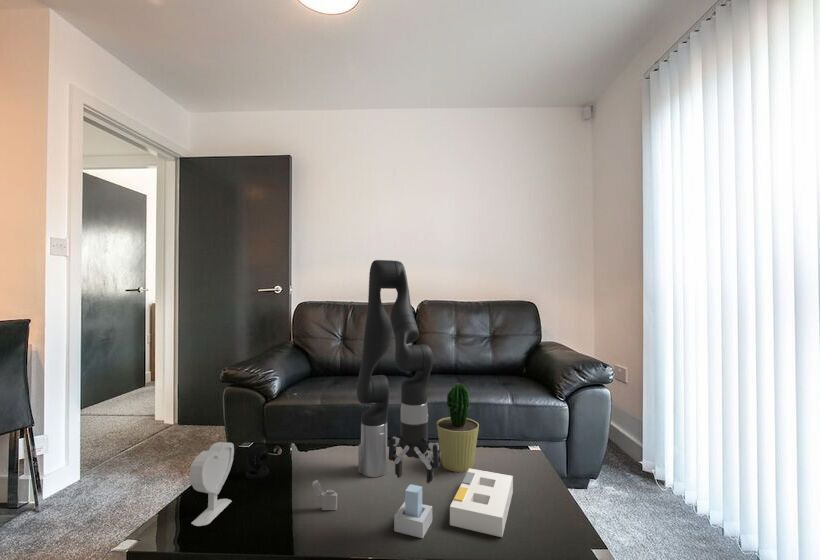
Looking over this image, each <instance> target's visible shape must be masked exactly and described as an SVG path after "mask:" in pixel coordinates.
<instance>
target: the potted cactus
mask: <svg viewBox="0 0 820 560" xmlns="http://www.w3.org/2000/svg"><path fill="white" fill-rule="evenodd" d="M470 397H471V396H470V395H469V391H468V389H467V387H466V386H464V384H463V382H462V383H452V387H451V388H450V390H449V391H448V392H447V395H446V396H445V399H446V402H444V403H446V406H447V407H448V411H447V412H448V413H447V414H449V417H443V418H441V419H439V420H437V421H436V430H437V437H438V442H439V444H440V459H441V464H442V467H443V468H444V469H445V470H448V471H451V472H455V473H463V472H468V470H469V468H470V469H474V468H473V467H474V462H475V455H476V449H477V443H478V436H479V426H480V424H479V422H477V421H475V420H474V419H471V418H469V417H468V413H469V410H470V409H471V408H472V406H471V405H470V404H471V402H470V401H471V400H472V399H470ZM471 410H472V409H471Z"/></svg>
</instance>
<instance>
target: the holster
mask: <svg viewBox="0 0 820 560" xmlns="http://www.w3.org/2000/svg"><path fill="white" fill-rule="evenodd" d="M393 517H394V518H393V522H394V524H393V527H394V528H393V531H394V532H397V533H399V534H403V535H409V536H412V537H415V538H420V539H424V537H425V535H426V534H427V532H428V530H429V529H430V528H429V527H430V525H432V522H433V506H432V505H429V504H423V503H422V515H421V516H420V518H417V517H412V516H408V515H405V501H403V503H402V504H401V506H400V508H398V510H397V511H396V513H395V514H394V516H393Z"/></svg>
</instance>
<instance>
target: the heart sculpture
mask: <svg viewBox="0 0 820 560" xmlns="http://www.w3.org/2000/svg"><path fill="white" fill-rule="evenodd" d="M234 455H235V446H234V443H232V442H221V441H220V442H219V441H218V442H214V443H213V444H211V446H210V447H209V449H208V450H202V451H201V452H200V453H199V454H198V455H197V456H196V457H195V458H194V459H193V461H192V462H191V465H190V470H189V476H190V477H189V478H190V479H189V481H190V484H191V487H192V488H193V490H195V491H197V492H200V493H204V494H208V498H207V501H208V503H207V508H206V509H205V510H204V511H202V513H200V514H199V515H198V516H197V517H196V518H195V519H194V520H193V521H191V525H193V526H196V527H202V526H207V525H209V524H211V522H212V521H213V520H214V519H215V518H217V517H218V516H219V515H220V513H221V512H223V511H224V509H226V508H227V507H228V506H229V504H231V503H232V502H233V501H232V500H231V499H229V498H219V499H218V495H219V494H220V492H221V490H222V489H223V486H224V484H225V482H226V480H227V479H228V476H229V474H230V472H231V468H232V465H233V461H234Z"/></svg>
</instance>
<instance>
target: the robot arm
mask: <svg viewBox="0 0 820 560" xmlns="http://www.w3.org/2000/svg"><path fill="white" fill-rule="evenodd" d="M382 289H383V290H385V289H392V290H393V289H395V290H396V293H397V296H396V299H395V301H394V304H393V306H392V308H391V311H390V316H389V315H388V313H387V310H386V309H385V307H384V304H383V302H382V298H381V297H382V296H381V293H382V292H381V291H382ZM409 289H410V288H409V284H408V277H407V273H406V269H405V266H404V263H402V262H401V261H399V260H389V259H388V260H387V259H386V260H385V259H374V260H373V261H372V262H371V264H370V268H369V274H368V299H367V300H368V301H367V310H366V319H365V326H364V332H363V347H362V354H361V362H360V368H359V372H358V378H357V384H356V397H357V401H358V402H359V403H360V404H362V405H368V404H374V405H372V406H371V407H370V408H369V409H367V410H365V411H363V412H362V413H361V415H360V443H359V444H358V452H357V453H358V456H357V458H358V463H357V464H358V469H357V470H358V471H357V472H358V473H360V474H361V473H362V474H363V475H362V474H361V475H362V476H364V475H365V477H367V476H368V477H367V478H377V477H382V476H384V475H386V474H387V471H388V460H389V461H390V462H391V461H392V462H394V468H395V469H394V470H395V471H394V473H395V476H396V478H398V479H399V478H402V476H403V459H404V458H405V456H407V458H415V459H420V460H421V462H422V463H424V465H425V467H426V484H430V483H432V481H433V480H434V474H435V473H434V469H438V468H439V466H440V465H441V464H442V460H441V452H440V444H439V441H436V442H435V443H434V442H430V441H429V409H428V384H429V379H430V376H431V372H432V369H433V364H434V353H433V350H432V348H431V347H430V346H429V345H428V344H411V343H414V342H415V341H417V340H418V338H419V336H420V332H419V328H418V325H417V322H416V318H415V315H414V312H413V307H412V303H411V298H410V290H409ZM392 334H393V335H394V341H395V342H394V343H395V347H394V348H395V349H394V351H395V352H394V364H395V366H396V368H397V369H398V370H399V371H400V372H405V373H408V372H415V373H414V374H415V375H414V376H411V378H408V379H406V380H403V381H402V383H401V388H400V391H401V393H400V394H401V395H400V396H401V403H400V421H399V422H400V424H399V426H400V428H399V431H400V433H399V434H400V438H399V437H397V436H396V435H393V436H392V437H391V438H390V439H389V442H388V417H389V403H390V402H389V401H390V400H389V399H390V382H389V379H388V377H387V376H386V375H384V374H378V375H373V373H374V370H375V368H376V366H377V364H379V362H380V360H381V359H382V358H383V357H384V356H385V354H386V352H388V350H389V348H390V346H391V341H392V337H393V335H392ZM410 344H411V345H410ZM388 443H389V444H388ZM398 445H399V446H400V448H401V449H402V450H401V451H400V453H399V454H398V455H397V446H398ZM428 449H429V450H430V451H431V453H432V456H433V458H432V457H431V454H430V453H429V451H428Z"/></svg>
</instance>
